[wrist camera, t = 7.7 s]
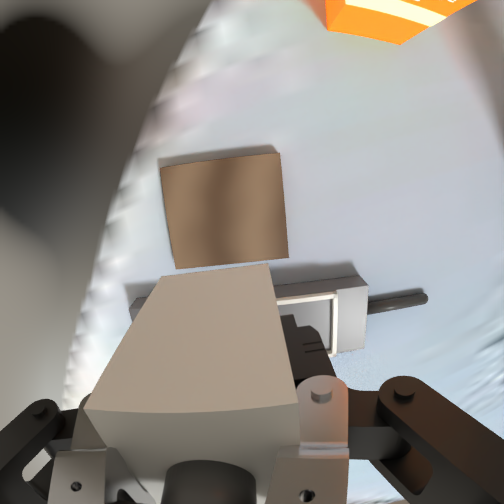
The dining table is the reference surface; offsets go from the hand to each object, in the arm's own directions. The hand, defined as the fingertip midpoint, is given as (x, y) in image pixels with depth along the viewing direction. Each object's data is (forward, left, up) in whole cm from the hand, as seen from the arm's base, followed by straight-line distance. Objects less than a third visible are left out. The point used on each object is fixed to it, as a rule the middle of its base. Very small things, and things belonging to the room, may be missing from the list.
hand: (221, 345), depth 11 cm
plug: (0, 0, -1) cm, 1 cm away
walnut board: (+1, -2, -18) cm, 18 cm away
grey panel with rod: (-4, +9, -17) cm, 20 cm away
